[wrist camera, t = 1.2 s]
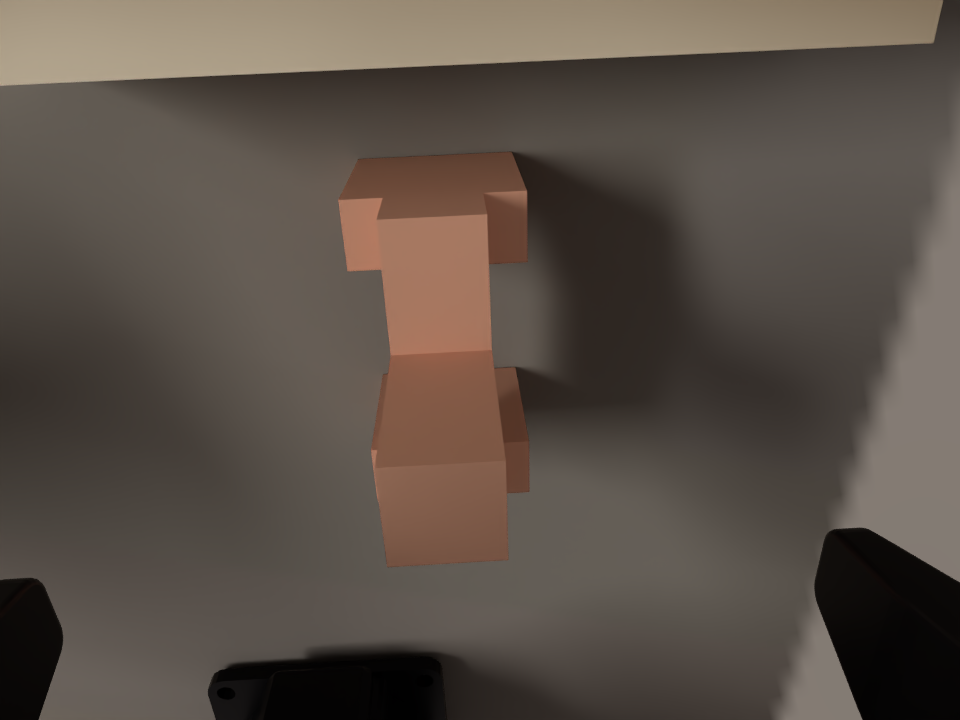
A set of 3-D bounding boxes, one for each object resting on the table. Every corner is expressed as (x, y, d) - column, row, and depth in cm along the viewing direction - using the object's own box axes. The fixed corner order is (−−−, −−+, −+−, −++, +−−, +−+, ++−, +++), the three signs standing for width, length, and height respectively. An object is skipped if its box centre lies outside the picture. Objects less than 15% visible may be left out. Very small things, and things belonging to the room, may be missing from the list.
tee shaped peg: (515, 411, 17) (558, 670, 11) (388, 419, 17) (353, 684, 11) (511, 151, 14) (566, 289, 8) (358, 159, 14) (287, 304, 8)
